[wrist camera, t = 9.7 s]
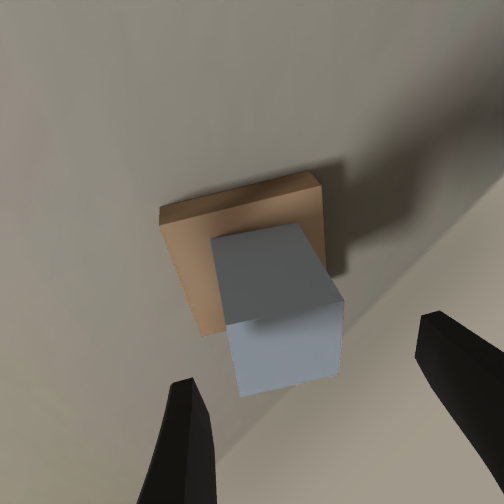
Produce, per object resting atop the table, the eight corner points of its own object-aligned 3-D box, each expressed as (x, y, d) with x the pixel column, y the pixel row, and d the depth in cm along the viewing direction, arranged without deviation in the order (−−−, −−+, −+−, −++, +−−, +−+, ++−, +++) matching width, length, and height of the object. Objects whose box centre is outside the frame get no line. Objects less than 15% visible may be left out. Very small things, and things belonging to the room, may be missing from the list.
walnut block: (305, 166, 19) (321, 185, 17) (315, 278, 24) (328, 303, 22) (160, 202, 19) (159, 225, 17) (198, 308, 24) (201, 337, 22)
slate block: (297, 222, 18) (344, 300, 13) (299, 288, 21) (338, 374, 16) (209, 238, 18) (225, 325, 13) (223, 304, 20) (240, 397, 16)
